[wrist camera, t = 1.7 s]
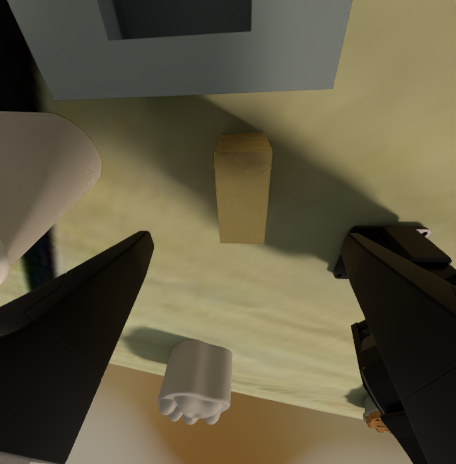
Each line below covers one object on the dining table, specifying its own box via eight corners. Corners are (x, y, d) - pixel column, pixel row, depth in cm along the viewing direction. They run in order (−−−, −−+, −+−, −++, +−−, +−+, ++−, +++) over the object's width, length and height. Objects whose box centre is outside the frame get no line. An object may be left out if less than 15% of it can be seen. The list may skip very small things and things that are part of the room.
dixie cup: (23, 184, 18) (-164, 267, 10) (-15, 68, 13) (-460, 38, 5) (119, 212, 19) (25, 308, 11) (118, 116, 14) (-56, 158, 6)
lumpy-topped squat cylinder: (239, 352, 35) (238, 418, 28) (209, 374, 42) (202, 432, 35) (183, 335, 32) (167, 403, 25) (162, 362, 40) (145, 421, 33)
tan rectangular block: (259, 207, 17) (264, 243, 13) (225, 207, 18) (220, 243, 14) (264, 132, 14) (272, 151, 10) (221, 133, 14) (213, 152, 10)
